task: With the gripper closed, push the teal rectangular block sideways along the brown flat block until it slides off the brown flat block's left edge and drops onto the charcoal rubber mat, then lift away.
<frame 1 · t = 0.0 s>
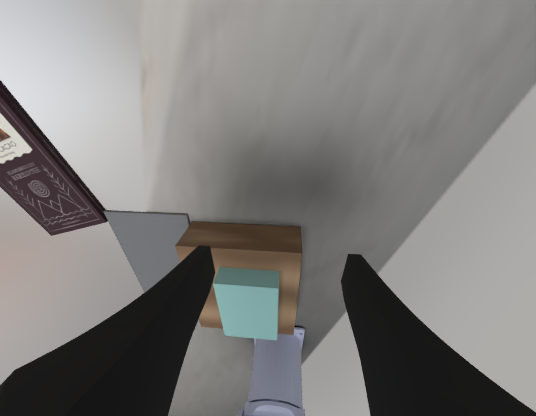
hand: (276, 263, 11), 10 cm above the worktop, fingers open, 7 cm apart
teal rectangular block: (251, 297, 23), point 4 cm above the worktop, touching brown flat block
chocolate bar: (23, 155, 21), on the worktop
mat: (165, 263, 27), on the worktop
brown flat block: (248, 268, 26), on the worktop
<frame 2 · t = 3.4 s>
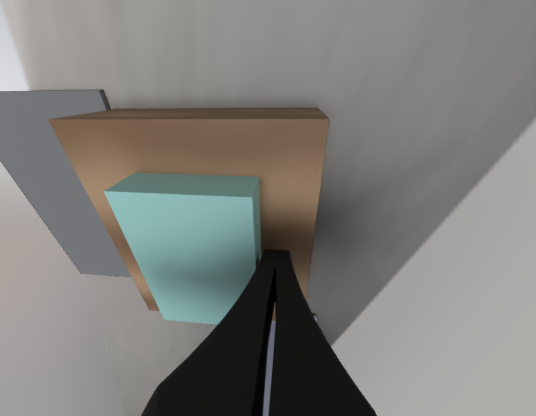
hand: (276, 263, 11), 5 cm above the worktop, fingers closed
teal rectangular block: (210, 246, 12), point 4 cm above the worktop, touching gripper
mat: (90, 205, 16), on the worktop
brown flat block: (226, 211, 15), on the worktop
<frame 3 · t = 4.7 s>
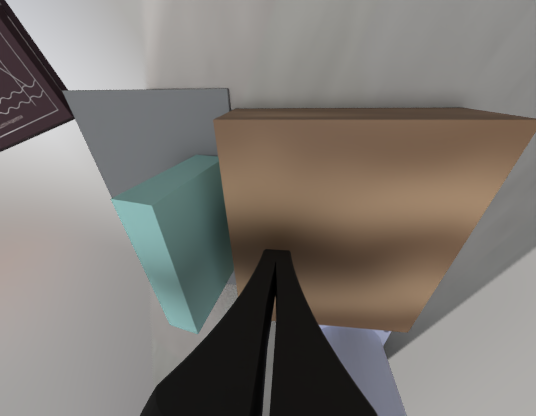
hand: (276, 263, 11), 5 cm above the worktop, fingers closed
teal rectangular block: (211, 244, 12), point 4 cm above the worktop, tilted 101°, touching mat
mat: (178, 209, 16), on the worktop
brown flat block: (326, 215, 15), on the worktop
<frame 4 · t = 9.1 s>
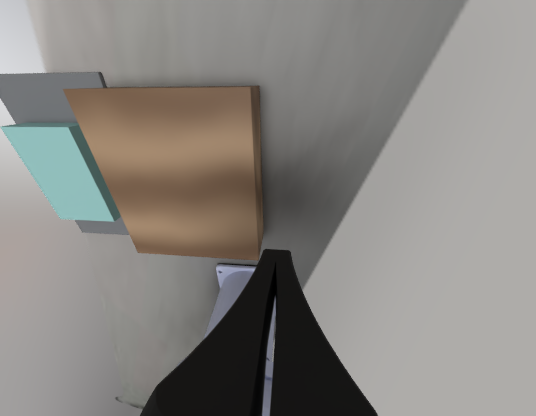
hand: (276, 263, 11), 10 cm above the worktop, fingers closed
teal rectangular block: (63, 179, 19), point 2 cm above the worktop, tilted 180°, touching mat
mat: (90, 169, 20), on the worktop
brown flat block: (198, 172, 19), on the worktop
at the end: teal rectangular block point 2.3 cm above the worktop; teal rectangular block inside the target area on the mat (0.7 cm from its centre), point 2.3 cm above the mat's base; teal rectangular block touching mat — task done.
